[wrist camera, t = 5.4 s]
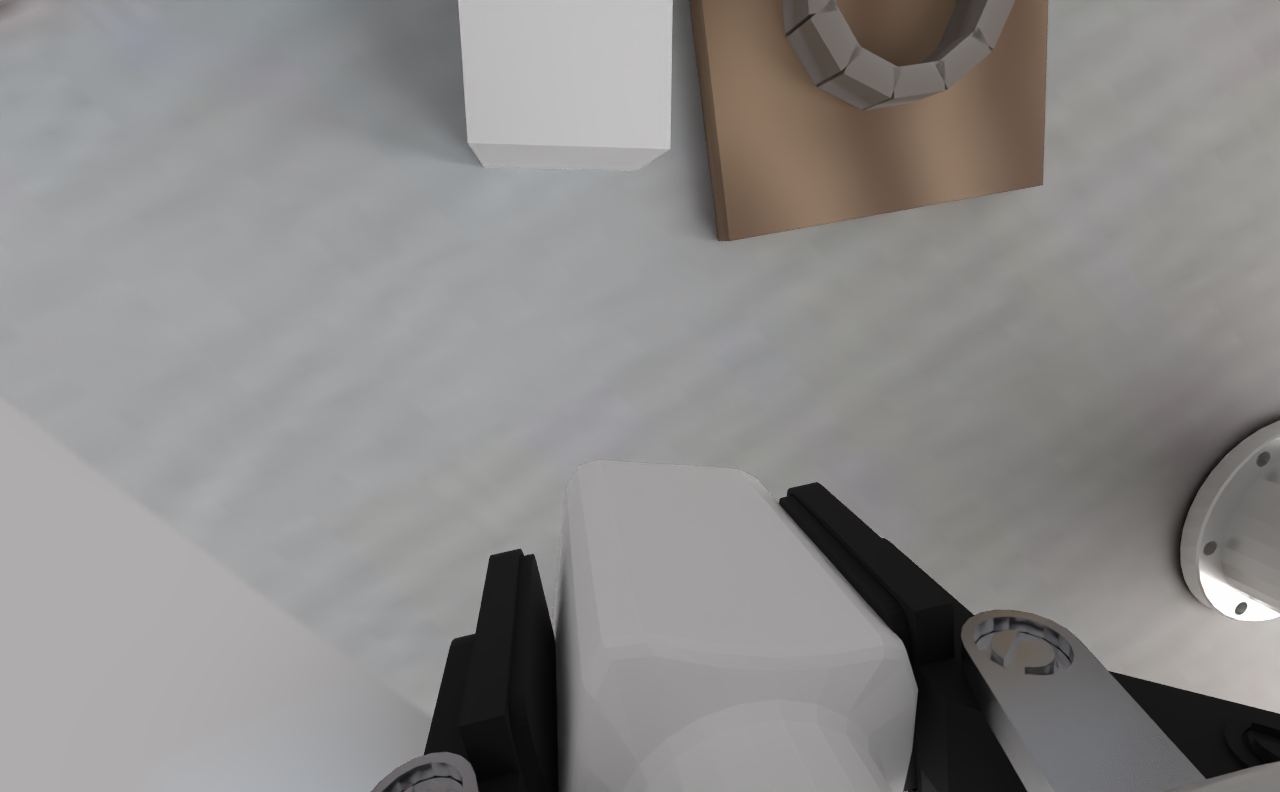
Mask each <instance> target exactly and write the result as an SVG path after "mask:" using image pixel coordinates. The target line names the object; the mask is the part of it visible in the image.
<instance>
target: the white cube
mask: <svg viewBox="0 0 1280 792" xmlns="http://www.w3.org/2000/svg"><path fill="white" fill-rule="evenodd" d="M458 6H459V21H460V36H461V51H462V66H463V81H464V96H465V111H466V126H467V141H468V144H469V146H470V147H471V149H472V150H473V152H474V153H475V155H476V156H477V158H478V159H479V161H480V162H481V164H482V165H483V167H497V168H540V169H582V170H624V171H638V170H640V169H641V168H643V167H644V166H646V165H647V164H649V163H650V162H652V161H653V160H655V159H656V158H658V157H659V156H661V155H662V154H664V153H665V152H667V151H668V150H670V140H671V75H672V9H673V0H458Z"/></svg>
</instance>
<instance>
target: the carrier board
mask: <svg viewBox="0 0 1280 792" xmlns="http://www.w3.org/2000/svg"><path fill="white" fill-rule="evenodd" d="M689 2H690V11H691V19H692V27H693V35H694V43H695V52H696V60H697V68H698V76H699V84H700V93H701V101H702V109H703V117H704V126H705V134H706V142H707V150H708V158H709V167H710V175H711V183H712V191H713V199H714V208H715V216H716V224H717V232H718V241H732V240H738V239H744V238H749V237H755V236H760V235H766V234H772V233H777V232H783V231H788V230H794V229H800V228H805V227H811V226H816V225H822V224H828V223H833V222H839V221H844V220H850V219H856V218H861V217H867V216H872V215H878V214H883V213H889V212H895V211H900V210H906V209H911V208H917V207H923V206H928V205H934V204H939V203H945V202H951V201H956V200H962V199H967V198H973V197H979V196H984V195H990V194H995V193H1001V192H1007V191H1012V190H1018V189H1023V188H1029V187H1035V186H1040V185H1043V161H1044V127H1045V93H1046V59H1047V25H1048V0H689Z"/></svg>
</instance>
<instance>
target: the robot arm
mask: <svg viewBox="0 0 1280 792" xmlns="http://www.w3.org/2000/svg"><path fill="white" fill-rule="evenodd" d="M779 504H780V505H781V507H782V508H783V509H784V510H785V511H786V512H787V513H788V514H789V516H790V517H791V518H792V519H793V520H794V521H795V522H796V523H797V525H798V526H799V527H800V528H801V529H802V530H803V531H804V532H805V534H806V535H807V536H808V537H809V538H810V539H811V540H812V541H813V543H814V544H815V545H816V546H817V547H818V548H819V549H820V550H821V552H822V553H823V554H824V555H825V556H826V557H827V558H828V559H829V561H830V562H831V563H832V564H833V565H834V566H835V567H836V568H837V570H838V571H839V572H840V573H841V574H842V575H843V576H844V577H845V579H846V580H847V581H848V582H849V583H850V584H851V585H852V586H853V588H854V589H855V590H856V591H857V592H858V593H859V594H860V595H861V597H862V598H863V599H864V600H865V601H866V602H867V603H868V604H869V606H870V607H871V608H872V609H873V610H874V611H875V612H876V613H877V615H878V616H879V617H880V618H881V619H882V620H883V621H884V622H885V624H886V625H887V626H888V627H889V628H890V629H891V630H892V631H893V633H895V634H896V635H897V636H898V637H899V638H900V639H901V640H902V641H903V644H904V646H905V649H906V651H907V655H908V658H909V661H910V664H911V668H912V671H913V674H914V677H915V681H916V684H917V687H918V696H917V706H916V716H915V726H914V736H913V746H912V753H911V757H910V762H909V767H908V771H907V776H906V780H905V785H904V790H903V792H904V791H908V792H1280V714H1278V713H1274V712H1270V711H1266V710H1262V709H1258V708H1254V707H1250V706H1246V705H1242V704H1238V703H1234V702H1230V701H1226V700H1222V699H1218V698H1214V697H1210V696H1206V695H1202V694H1198V693H1194V692H1190V691H1186V690H1182V689H1178V688H1174V687H1170V686H1166V685H1162V684H1158V683H1154V682H1150V681H1146V680H1142V679H1138V678H1134V677H1130V676H1126V675H1122V674H1118V673H1114V672H1110V671H1108V670H1107V669H1106V668H1105V667H1104V666H1103V665H1102V664H1101V663H1100V662H1099V660H1098V659H1097V658H1096V657H1095V656H1094V655H1093V654H1092V653H1091V652H1090V651H1089V649H1088V648H1087V647H1086V646H1085V645H1084V644H1083V643H1082V642H1081V641H1080V640H1079V639H1078V638H1077V637H1076V636H1075V635H1074V634H1072V633H1071V632H1070V631H1069V630H1068V629H1066V628H1064V627H1062V626H1061V625H1059V624H1057V623H1055V622H1053V621H1051V620H1049V619H1046V618H1043V617H1041V616H1038V615H1035V614H1032V613H1026V612H1021V611H1015V610H992V611H987V612H981V613H979V614H977V615H975V616H974V615H973V614H972V613H971V612H970V611H969V610H967V609H966V608H965V607H964V606H963V605H962V604H961V603H959V602H958V601H957V600H956V599H955V598H954V597H953V596H951V595H950V594H949V593H948V592H947V591H946V590H944V589H943V588H942V587H941V586H940V585H939V584H938V583H936V582H935V581H934V580H933V579H932V578H931V577H930V576H928V575H927V574H926V573H925V572H924V571H923V570H922V569H920V568H919V567H918V566H917V565H916V564H915V563H914V562H912V561H911V560H910V559H909V558H908V557H907V556H906V555H904V554H903V553H902V552H901V551H900V550H899V549H898V548H896V547H895V546H894V545H893V544H892V543H891V542H889V541H888V540H886V539H885V538H881V537H880V536H878V535H877V534H876V533H875V532H874V531H873V530H872V529H871V528H869V527H868V526H867V525H866V524H865V523H864V522H863V521H862V520H860V519H859V518H858V517H857V516H856V515H855V514H854V513H853V512H851V511H850V510H849V509H848V508H847V507H846V506H845V505H843V504H842V503H841V502H840V501H839V500H838V499H837V498H836V497H834V496H833V495H832V494H831V493H830V492H829V491H828V490H827V489H825V488H824V487H823V486H822V485H821V484H820V483H818V482H816V483H811V484H807V485H802V486H798V487H793V488H789V489H788V491H787V497H783V498H780V501H779ZM1180 560H1181V568H1182V572H1183V576H1184V579H1185V582H1186V584H1187V586H1188V587H1189V589H1190V591H1191V593H1192V594H1193V595H1194V596H1195V597H1196V598H1197V599H1198V600H1199V601H1200V602H1201V603H1202V604H1204V605H1206V606H1207V607H1209V608H1211V609H1213V610H1214V611H1216V612H1218V613H1220V614H1221V615H1223V616H1226V617H1228V618H1231V619H1234V620H1240V621H1249V622H1252V621H1261V620H1269V619H1272V618H1275V617H1279V616H1280V420H1279V421H1277V422H1275V423H1272V424H1270V425H1268V426H1266V427H1263V428H1261V429H1260V430H1258V431H1256V432H1255V433H1253V434H1252V435H1250V436H1249V437H1247V438H1246V439H1244V440H1243V441H1241V442H1240V443H1239V444H1238V445H1237V446H1236V447H1235V448H1233V449H1232V450H1231V451H1230V452H1229V453H1228V454H1226V455H1225V457H1224V458H1223V459H1222V460H1221V461H1220V462H1219V463H1218V465H1217V466H1216V467H1215V468H1214V469H1213V470H1212V471H1211V473H1210V474H1209V476H1208V477H1207V479H1206V480H1205V482H1204V483H1203V485H1202V486H1201V487H1200V489H1199V491H1198V493H1197V495H1196V497H1195V499H1194V501H1193V503H1192V505H1191V507H1190V509H1189V511H1188V515H1187V518H1186V521H1185V524H1184V527H1183V531H1182V538H1181V544H1180ZM371 792H559V788H558V740H557V692H556V644H555V637H554V633H553V629H552V624H551V620H550V616H549V612H548V608H547V604H546V600H545V595H544V591H543V587H542V583H541V579H540V575H539V571H538V567H537V562H536V559H535V556H534V554H531V555H526V556H524V554H523V552H522V550H521V549H517V550H512V551H508V552H504V553H499V554H495V555H491V556H490V558H489V564H488V569H487V574H486V580H485V585H484V591H483V596H482V601H481V607H480V612H479V618H478V623H477V628H476V634H472V635H468V636H464V637H459V638H455V639H454V640H453V641H452V643H451V646H450V649H449V653H448V657H447V661H446V666H445V670H444V674H443V678H442V682H441V686H440V690H439V694H438V699H437V703H436V707H435V711H434V715H433V719H432V723H431V727H430V732H429V736H428V740H427V744H426V748H425V752H424V756H421V757H418V758H414V759H412V760H411V761H409V762H407V763H405V764H403V765H402V766H400V767H398V768H396V769H395V770H394V771H392V772H391V773H390V774H389V775H387V776H386V777H385V778H384V779H383V780H381V781H380V782H379V783H378V784H377V785H376V787H375V788H374V789H373V790H372V791H371Z"/></svg>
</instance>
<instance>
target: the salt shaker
mask: <svg viewBox="0 0 1280 792" xmlns="http://www.w3.org/2000/svg"><path fill="white" fill-rule="evenodd" d="M553 627H554V637H555V644H556V692H557V740H558V788H559V792H903V790H904V785H905V780H906V776H907V771H908V767H909V762H910V757H911V753H912V746H913V736H914V726H915V716H916V706H917V696H918V687H917V684H916V681H915V677H914V674H913V671H912V668H911V664H910V661H909V658H908V655H907V651H906V649H905V646H904V644H903V641H902V640H901V639H900V638H899V637H898V636H897V635H896V634H895V633H893V631H892V630H891V629H890V628H889V627H888V626H887V625H886V624H885V622H884V621H883V620H882V619H881V618H880V617H879V616H878V615H877V613H876V612H875V611H874V610H873V609H872V608H871V607H870V606H869V604H868V603H867V602H866V601H865V600H864V599H863V598H862V597H861V595H860V594H859V593H858V592H857V591H856V590H855V589H854V588H853V586H852V585H851V584H850V583H849V582H848V581H847V580H846V579H845V577H844V576H843V575H842V574H841V573H840V572H839V571H838V570H837V568H836V567H835V566H834V565H833V564H832V563H831V562H830V561H829V559H828V558H827V557H826V556H825V555H824V554H823V553H822V552H821V550H820V549H819V548H818V547H817V546H816V545H815V544H814V543H813V541H812V540H811V539H810V538H809V537H808V536H807V535H806V534H805V532H804V531H803V530H802V529H801V528H800V527H799V526H798V525H797V523H796V522H795V521H794V520H793V519H792V518H791V517H790V516H789V514H788V513H787V512H786V511H785V510H784V509H783V508H782V507H781V505H780V504H779V503H778V502H777V501H776V499H775V498H774V497H773V496H772V495H771V494H770V493H769V492H768V491H767V489H766V488H765V487H764V486H763V485H762V484H761V483H760V482H759V480H758V479H757V478H755V477H753V476H751V475H749V474H747V473H745V472H743V471H742V470H740V469H735V468H719V467H704V466H689V465H673V464H658V463H642V462H627V461H611V460H598V461H594V462H589V463H585V464H581V465H579V466H578V467H577V469H576V470H575V472H574V474H573V476H572V478H571V479H570V481H569V483H568V485H567V486H566V494H565V504H564V513H563V523H562V533H561V543H560V553H559V562H558V572H557V582H556V592H555V602H554V612H553Z"/></svg>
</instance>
